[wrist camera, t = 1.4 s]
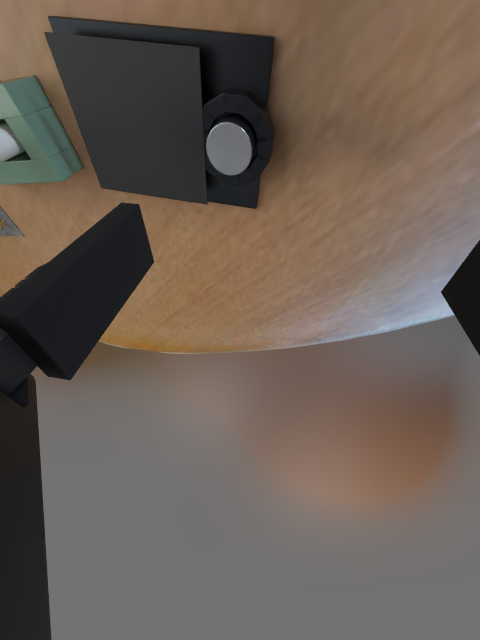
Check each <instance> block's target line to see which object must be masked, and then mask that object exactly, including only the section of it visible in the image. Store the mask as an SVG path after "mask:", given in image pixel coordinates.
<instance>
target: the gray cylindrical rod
mask: <svg viewBox="0 0 480 640" xmlns="http://www.w3.org/2000/svg"><path fill="white" fill-rule="evenodd" d="M24 151H25V149H24V148H23V146H22V145H21V143H20V142H19V140H18V139H17V137H16V136H15V134H14V133H13V131H12V130H11V128H10V127H9V125H8V124H7V123H4V124H1V125H0V163H2V162H4V161H6V160H8V159H10V158H12V157H14V156H16V155H18V154H20V153H22V152H24Z"/></svg>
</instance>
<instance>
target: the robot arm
mask: <svg viewBox="0 0 480 640" xmlns="http://www.w3.org/2000/svg"><path fill="white" fill-rule="evenodd" d="M153 263H154V260H153V256H152V252H151V248H150V244H149V240H148V237H147V233H146V229H145V225H144V221H143V218H142V214H141V210H140V206H139V204H130V203H121V204H119V205H118V206H117V207H116V208H114V209H113V210H112V211H111V212H110V213H108V214H107V215H106V216H105V217H103V218H102V219H101V220H100V221H99V222H97V223H96V224H95V225H94V226H92V227H91V228H90V229H89V230H88V231H86V232H85V233H84V234H83V235H81V236H80V237H79V238H78V239H76V240H75V241H74V242H73V243H72V244H70V245H69V246H68V247H67V248H65V249H64V250H63V251H62V252H61V253H59V254H58V255H57V256H56V257H54V258H53V259H52V260H51V261H50V262H48V263H46V264H44V265H42V266H40V267H38V268H37V269H35V270H34V271H33V272H32V273H30V274H29V275H28V276H27V277H25V280H22V281H20V282H19V283H18V284H17V285H15V288H12V289H10V290H9V291H8V292H7V293H5V294H4V295H3V296H2V297H0V640H51V627H50V611H49V595H48V577H47V561H46V545H45V531H44V530H45V528H44V513H43V495H42V481H41V462H40V446H39V429H38V413H37V397H36V382H35V379H34V377H33V376H32V375H31V374H30V373H31V372H32V371H33V370H34V369H35V367H36V366H38V367H39V368H40V369H41V370H42V371H43V372H44V373H45V374H46V375H47V376H48V377H54V378H61V379H66V380H71V379H72V377H73V376H74V374H75V373H76V372H77V370H78V369H79V367H80V366H81V364H82V363H83V362H84V360H85V359H86V358H87V356H88V355H89V353H90V352H91V350H92V349H93V348H94V346H95V345H96V343H97V342H98V341H99V339H100V338H101V336H102V335H103V334H104V332H105V331H106V329H107V328H108V326H109V325H110V324H111V322H112V321H113V319H114V318H115V317H116V315H117V314H118V312H119V311H120V309H121V308H122V307H123V305H124V304H125V302H126V301H127V300H128V298H129V297H130V295H131V294H132V293H133V291H134V290H135V288H136V287H137V285H138V284H139V283H140V281H141V280H142V278H143V277H144V276H145V274H146V273H147V271H148V270H149V269H150V267H151V266H152V264H153ZM441 293H442V295H443V296H444V298H445V300H446V301H447V303H448V305H449V306H450V308H451V309H452V311H453V313H454V314H455V316H456V317H457V319H458V321H459V323H460V324H461V326H462V327H463V329H464V331H465V332H466V334H467V336H468V337H469V339H470V341H471V342H472V344H473V346H474V347H475V349H476V350H477V352H478V354H479V355H480V240H479V242H478V243H477V244H476V246H475V247H474V248H473V250H472V251H471V252H470V254H469V255H468V256H467V258H466V259H465V261H464V262H463V263H462V265H461V266H460V267H459V269H458V270H457V271H456V273H455V274H454V275H453V277H452V278H451V279H450V281H449V282H448V283H447V285H446V286H445V287H444V289H443V290H442V291H441Z"/></svg>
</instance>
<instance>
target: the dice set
mask: <svg viewBox="0 0 480 640" xmlns="http://www.w3.org/2000/svg"><path fill="white" fill-rule="evenodd" d="M0 235H5V236H24V235H23V234H22V233H21V231H20V230H19V229H18V228H17V227H16V225H15V224H14V223H13V222H12V221H11V219H10V218H9V217H8V216H7V215H6V213H5V212H4V211H3V210H2V209H1V207H0Z"/></svg>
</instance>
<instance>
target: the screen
mask: <svg viewBox="0 0 480 640" xmlns="http://www.w3.org/2000/svg"><path fill="white" fill-rule="evenodd" d="M44 33H45V36H46V39H47V41H48V44H49V47H50V49H51V52H52V55H53V58H54V60H55V63H56V66H57V69H58V71H59V74H60V77H61V79H62V82H63V85H64V88H65V90H66V93H67V96H68V98H69V101H70V104H71V107H72V109H73V112H74V115H75V117H76V120H77V123H78V126H79V128H80V131H81V134H82V136H83V139H84V142H85V145H86V147H87V150H88V153H89V155H90V158H91V161H92V164H93V166H94V169H95V172H96V174H97V177H98V180H99V183H100V185H101V188H104V189H110V190H117V191H123V192H130V193H136V194H143V195H149V196H156V197H162V198H169V199H175V200H181V201H188V202H194V203H201V204H207V185H206V166H205V147H204V128H203V109H202V90H201V71H200V52H199V47H191V46H181V45H171V44H161V43H151V42H141V41H130V40H120V39H110V38H100V37H90V36H80V35H70V34H60V33H50V32H44Z"/></svg>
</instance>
